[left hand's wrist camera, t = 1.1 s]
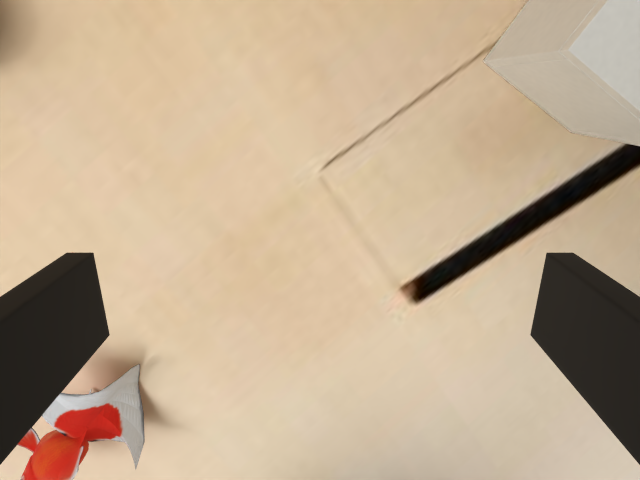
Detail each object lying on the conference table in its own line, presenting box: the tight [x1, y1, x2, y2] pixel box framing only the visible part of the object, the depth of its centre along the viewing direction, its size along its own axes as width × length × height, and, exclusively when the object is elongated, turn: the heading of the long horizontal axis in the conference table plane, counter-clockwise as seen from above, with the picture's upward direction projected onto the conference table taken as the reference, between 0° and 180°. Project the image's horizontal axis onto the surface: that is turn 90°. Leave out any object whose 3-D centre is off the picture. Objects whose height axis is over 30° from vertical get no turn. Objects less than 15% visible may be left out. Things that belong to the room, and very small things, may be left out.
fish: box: [17, 364, 144, 480], centre depth 40 cm, size 11×16×10 cm
